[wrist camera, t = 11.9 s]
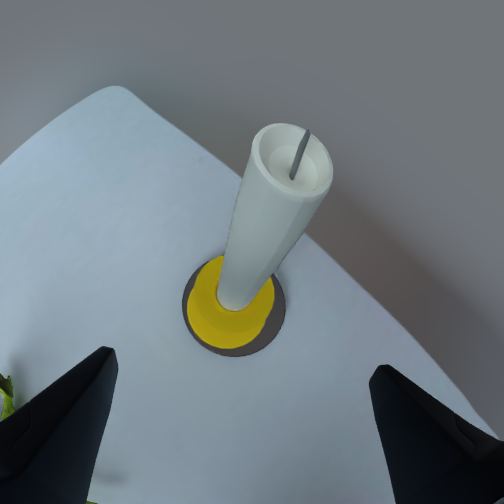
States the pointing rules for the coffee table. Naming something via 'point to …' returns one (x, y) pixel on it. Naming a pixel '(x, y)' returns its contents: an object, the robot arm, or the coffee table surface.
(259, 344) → the coaster
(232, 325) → the candle
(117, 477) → the coffee table surface
